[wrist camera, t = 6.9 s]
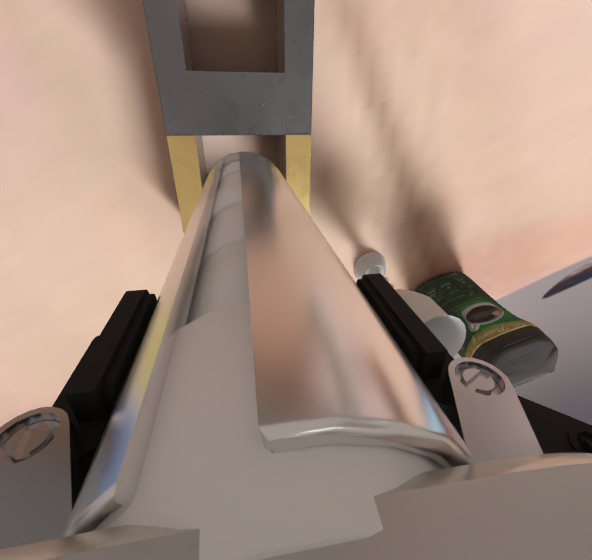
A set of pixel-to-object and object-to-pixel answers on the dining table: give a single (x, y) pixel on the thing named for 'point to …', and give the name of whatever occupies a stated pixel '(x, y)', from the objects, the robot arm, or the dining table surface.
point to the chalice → (419, 306)
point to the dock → (234, 98)
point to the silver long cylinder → (261, 390)
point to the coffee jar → (493, 329)
